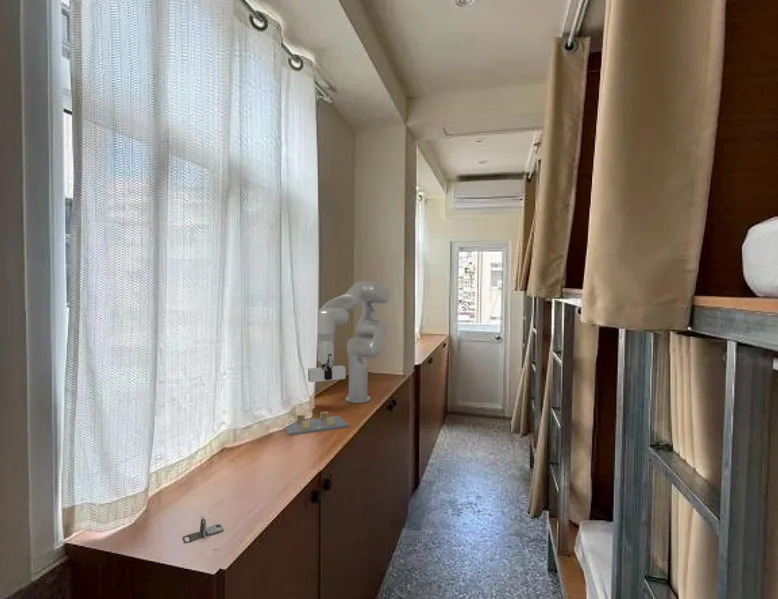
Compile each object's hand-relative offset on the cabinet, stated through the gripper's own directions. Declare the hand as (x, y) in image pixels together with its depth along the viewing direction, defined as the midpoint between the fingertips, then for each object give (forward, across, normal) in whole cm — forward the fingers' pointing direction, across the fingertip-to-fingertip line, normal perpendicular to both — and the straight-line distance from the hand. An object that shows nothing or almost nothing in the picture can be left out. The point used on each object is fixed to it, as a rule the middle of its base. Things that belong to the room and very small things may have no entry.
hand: (326, 377), depth 184 cm
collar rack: (+17, +12, -8) cm, 22 cm away
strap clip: (+16, +74, -51) cm, 92 cm away
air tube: (+1, 0, 0) cm, 1 cm away
